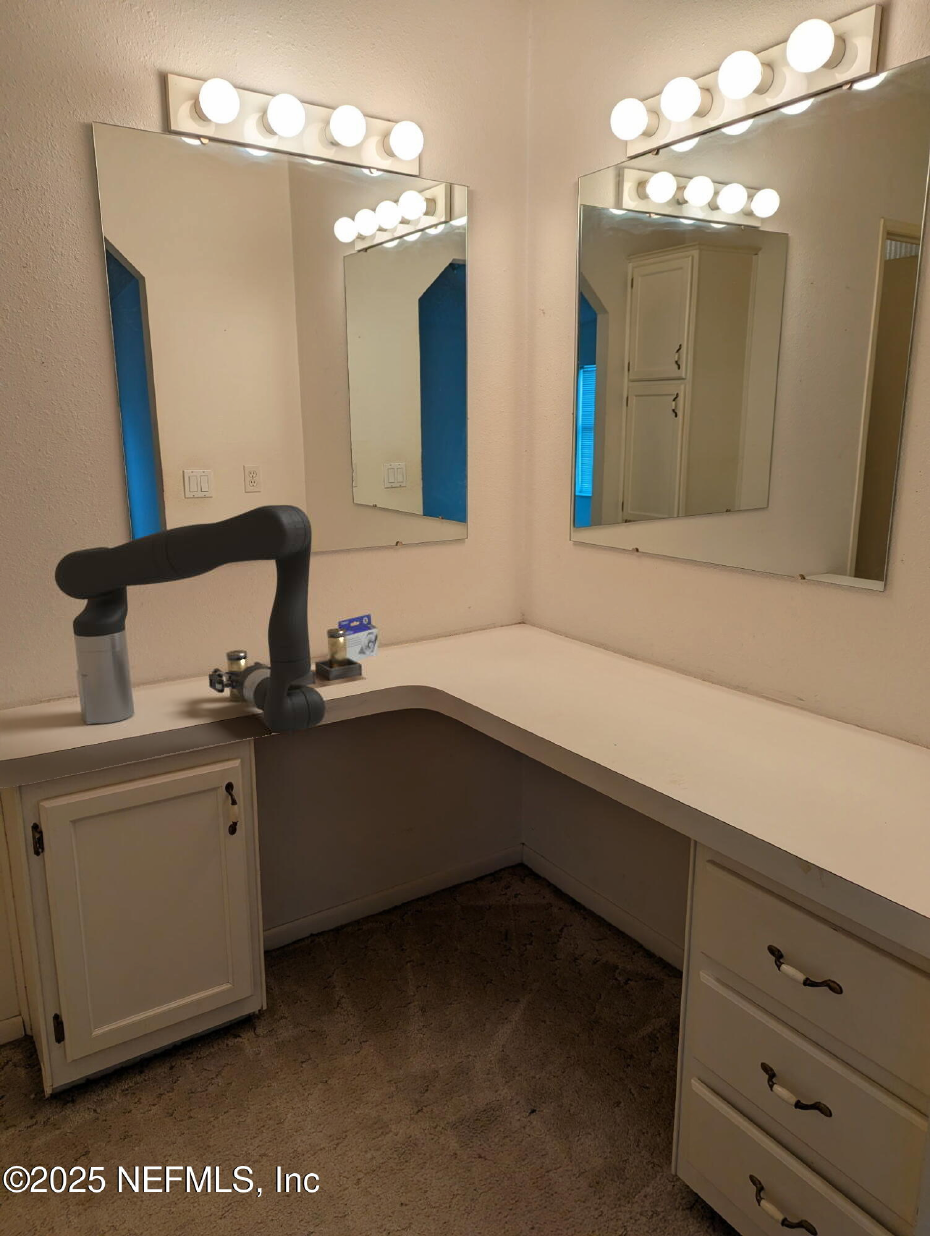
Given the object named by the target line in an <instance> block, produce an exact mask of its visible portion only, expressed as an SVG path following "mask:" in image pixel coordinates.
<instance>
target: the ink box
mask: <svg viewBox="0 0 930 1236" xmlns="http://www.w3.org/2000/svg"><path fill="white" fill-rule="evenodd" d="M354 623H357V624H354ZM352 624H354V625H352ZM337 628H342V629H346V647H347V658H349V659H352V660H354V661H356V662H360V661H363V660H366V659H368V658H373V657H374V656H377V655H378V635H379V634H378V627H377V626H375V625H374V624H372V616H371V613H368V614H363V615H359V616H356V617H350V618H347V619H344V620H343V619H342V620H339V621H338V622H337Z"/></svg>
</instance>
